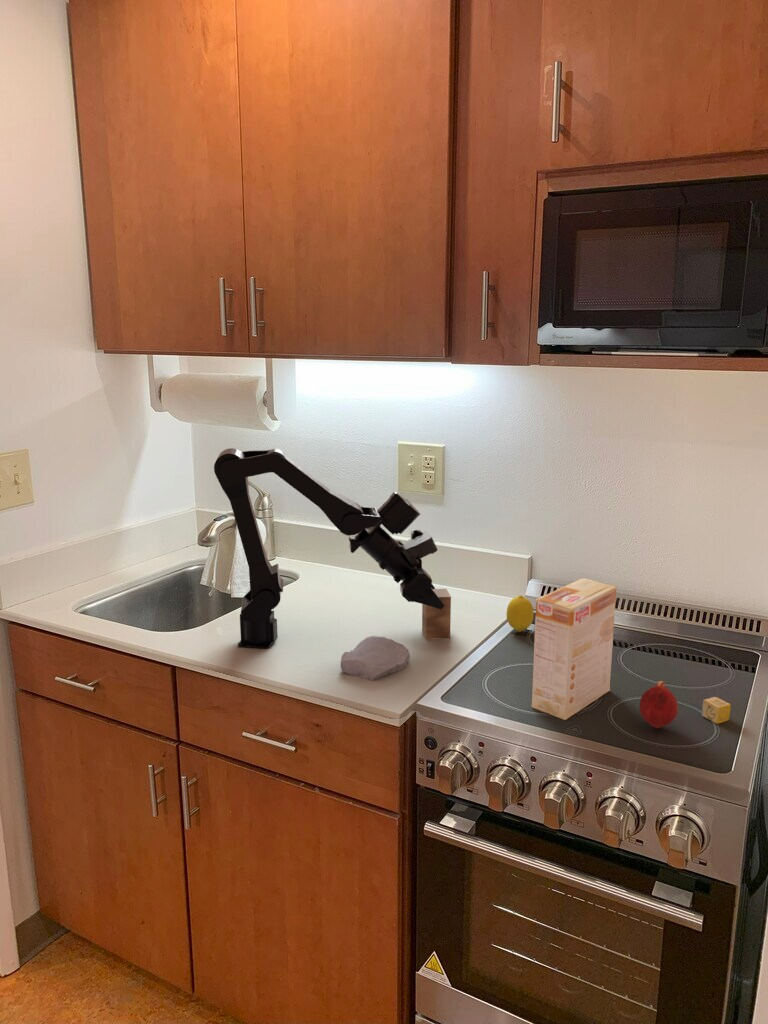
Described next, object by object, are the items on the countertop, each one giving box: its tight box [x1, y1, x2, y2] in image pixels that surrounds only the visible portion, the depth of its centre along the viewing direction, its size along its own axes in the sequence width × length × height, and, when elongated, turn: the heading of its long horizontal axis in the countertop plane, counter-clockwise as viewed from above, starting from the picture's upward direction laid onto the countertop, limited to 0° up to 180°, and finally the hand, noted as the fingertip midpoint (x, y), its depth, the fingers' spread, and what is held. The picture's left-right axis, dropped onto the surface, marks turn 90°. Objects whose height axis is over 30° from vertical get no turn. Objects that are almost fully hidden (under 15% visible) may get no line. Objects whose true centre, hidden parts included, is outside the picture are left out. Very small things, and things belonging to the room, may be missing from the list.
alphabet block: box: [701, 696, 731, 725], centre depth 133 cm, size 3×3×3 cm
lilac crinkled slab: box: [340, 635, 410, 681], centre depth 153 cm, size 12×5×10 cm
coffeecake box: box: [531, 577, 618, 721], centre depth 138 cm, size 15×7×20 cm, turn 136°
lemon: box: [506, 594, 535, 633], centre depth 168 cm, size 6×6×8 cm
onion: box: [639, 680, 679, 729], centre depth 129 cm, size 6×6×8 cm
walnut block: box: [421, 588, 452, 640], centre depth 167 cm, size 5×5×9 cm
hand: (438, 599), depth 167 cm, fingers open, 9 cm apart
